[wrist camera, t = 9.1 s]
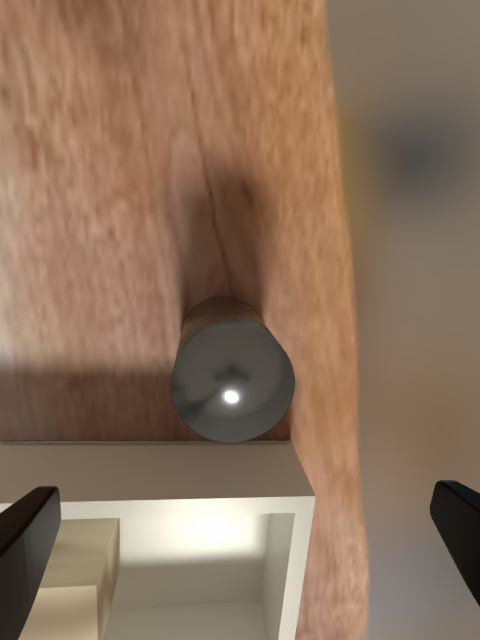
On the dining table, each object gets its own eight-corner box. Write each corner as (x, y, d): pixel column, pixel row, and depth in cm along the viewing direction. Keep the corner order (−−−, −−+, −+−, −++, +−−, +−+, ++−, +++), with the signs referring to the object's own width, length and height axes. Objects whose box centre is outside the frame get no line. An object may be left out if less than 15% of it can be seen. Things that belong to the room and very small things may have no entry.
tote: (18, 619, 23) (-30, 718, 19) (-1, 441, 20) (-63, 505, 15) (270, 603, 26) (287, 687, 21) (290, 440, 22) (315, 496, 18)
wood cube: (119, 569, 23) (98, 659, 18) (41, 573, 22) (-4, 667, 17) (119, 507, 22) (96, 585, 17) (36, 509, 21) (-13, 591, 16)
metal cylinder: (179, 375, 21) (169, 442, 14) (182, 294, 19) (172, 324, 13) (260, 376, 21) (288, 442, 14) (267, 298, 20) (301, 329, 13)
